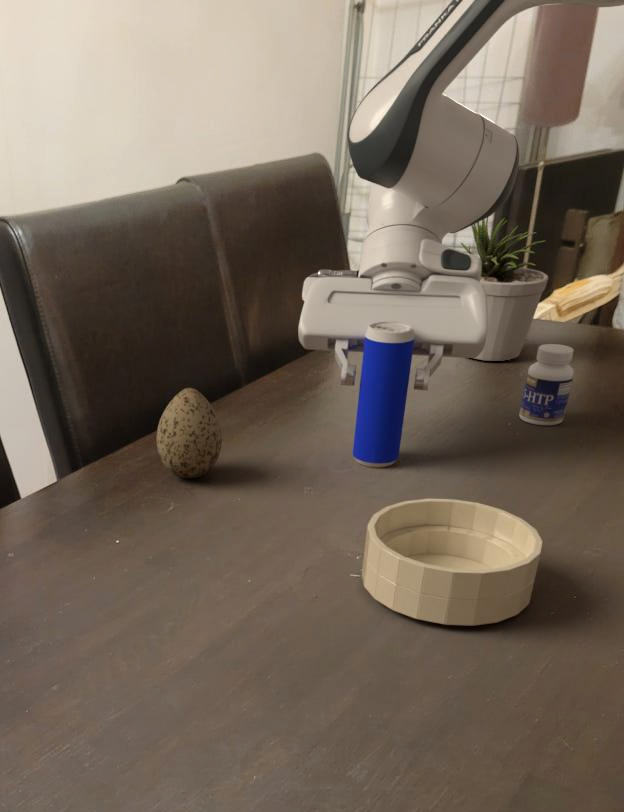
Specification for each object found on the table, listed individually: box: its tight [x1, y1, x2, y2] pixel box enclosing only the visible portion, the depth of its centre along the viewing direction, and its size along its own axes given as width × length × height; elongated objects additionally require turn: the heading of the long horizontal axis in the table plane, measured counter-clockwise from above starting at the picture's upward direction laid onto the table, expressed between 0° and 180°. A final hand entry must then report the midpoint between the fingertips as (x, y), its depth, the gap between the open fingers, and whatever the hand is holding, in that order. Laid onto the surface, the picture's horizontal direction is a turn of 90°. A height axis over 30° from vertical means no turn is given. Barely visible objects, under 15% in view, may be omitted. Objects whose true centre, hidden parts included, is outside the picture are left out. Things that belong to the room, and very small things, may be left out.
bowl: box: [361, 498, 544, 627], centre depth 83 cm, size 14×14×6 cm
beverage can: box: [352, 322, 414, 468], centre depth 106 cm, size 5×5×15 cm
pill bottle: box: [518, 343, 575, 426], centre depth 118 cm, size 5×5×9 cm
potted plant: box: [460, 217, 549, 361], centre depth 139 cm, size 13×14×20 cm
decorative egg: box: [156, 387, 223, 479], centre depth 104 cm, size 7×7×10 cm
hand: (383, 385), depth 104 cm, fingers open, 6 cm apart
